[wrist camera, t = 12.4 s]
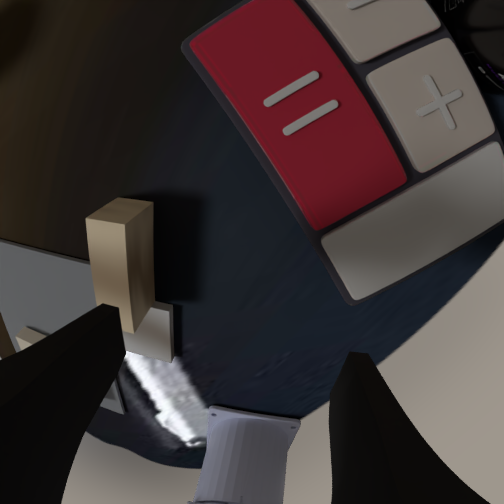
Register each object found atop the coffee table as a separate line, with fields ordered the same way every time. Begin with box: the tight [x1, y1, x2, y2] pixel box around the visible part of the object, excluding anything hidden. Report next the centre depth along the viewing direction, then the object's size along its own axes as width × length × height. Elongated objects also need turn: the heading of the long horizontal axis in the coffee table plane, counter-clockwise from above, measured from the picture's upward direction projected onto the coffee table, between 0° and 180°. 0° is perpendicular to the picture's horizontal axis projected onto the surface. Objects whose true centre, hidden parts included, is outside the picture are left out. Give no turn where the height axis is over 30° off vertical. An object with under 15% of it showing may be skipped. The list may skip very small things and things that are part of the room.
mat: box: [0, 239, 125, 414], centre depth 24 cm, size 18×14×1 cm
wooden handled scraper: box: [86, 197, 174, 363], centre depth 19 cm, size 12×5×4 cm, turn 172°
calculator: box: [181, 0, 504, 305], centre depth 13 cm, size 11×4×15 cm
